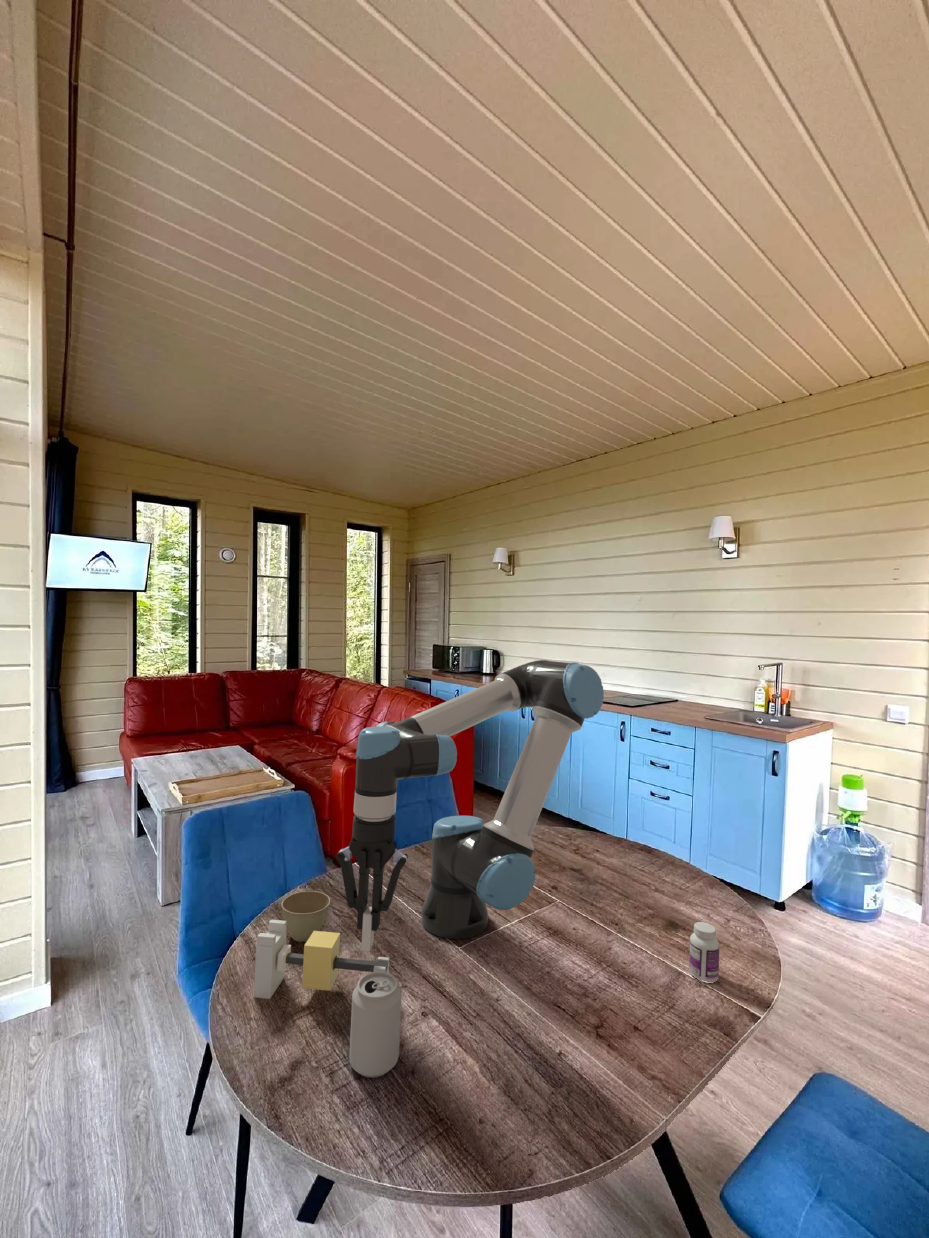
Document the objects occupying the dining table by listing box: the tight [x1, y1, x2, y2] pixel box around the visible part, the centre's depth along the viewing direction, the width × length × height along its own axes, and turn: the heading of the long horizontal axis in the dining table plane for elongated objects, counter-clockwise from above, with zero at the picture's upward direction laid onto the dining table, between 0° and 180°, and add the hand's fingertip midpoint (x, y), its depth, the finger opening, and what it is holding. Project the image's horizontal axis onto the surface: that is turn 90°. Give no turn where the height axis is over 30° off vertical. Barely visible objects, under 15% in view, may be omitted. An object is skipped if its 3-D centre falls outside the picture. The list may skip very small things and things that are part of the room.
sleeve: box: [301, 930, 341, 992], centre depth 99 cm, size 5×5×7 cm
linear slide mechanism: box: [253, 919, 390, 1000], centre depth 98 cm, size 23×6×11 cm, turn 85°
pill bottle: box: [688, 921, 720, 982], centre depth 108 cm, size 5×5×10 cm
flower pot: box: [281, 890, 331, 943], centre depth 116 cm, size 10×10×7 cm
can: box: [348, 971, 403, 1078], centre depth 83 cm, size 8×8×12 cm
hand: (367, 946), depth 98 cm, fingers closed
